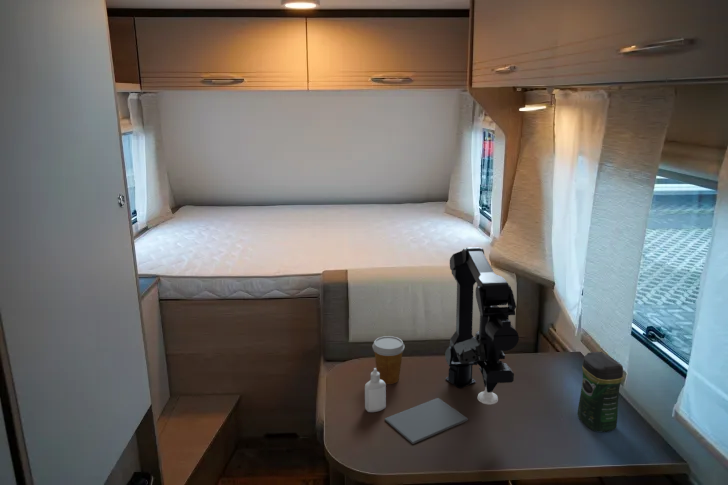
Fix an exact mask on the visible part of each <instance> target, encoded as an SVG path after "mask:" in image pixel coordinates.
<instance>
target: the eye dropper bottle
mask: <svg viewBox="0 0 728 485" xmlns="http://www.w3.org/2000/svg"><path fill="white" fill-rule="evenodd" d="M386 386H387V384H385V382H384V381H383V380H381V379H380V373H379V372H377V367H373V371H371V372H370V380H369V381H367V382H366V383H365V385H364V409H365V410H366V412H368V413H376V412H380V411H383V410H384V409H386V407H387V392H386V390H387V387H386Z"/></svg>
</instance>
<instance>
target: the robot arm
mask: <svg viewBox="0 0 728 485" xmlns="http://www.w3.org/2000/svg"><path fill="white" fill-rule="evenodd" d="M449 270H451V275H452V277H453V278H454V280H455V281H456V312H455V313H456V318H455V321H456V323H455V331H454V333H453V335H451V337H450V340H449V346H448V347H447V348H446V350H445V353H444V354H445V355H444V356H445V361H446V362H447V366H448V367H449V368H448V376H446V377H445V380H446V382H448V383H451V385H453V386H455V387H456V388H458V389H463V388H466V387H467V386H470V385H473V384H475V383H476V380H475V378H473V366H479V367H478V370H479V371H480V373H481V377H482V380H483V386H484V388H485V387H486V389H487V392H493V391H494V389H495V388H496V386H497V385H498V384H501V383H502V384H505V383H508V384H509V383H513V382H514V377H515V373H514V372H513V370H512V368H511V367H510V365H509V364H508V363H506V362H503V361H502V360H505V359H506V355H505V353H504V352H507V351H511V350H513V349H514V348H515V347H516V346H517V345H518V343H519V340H520V337H519V332H518V331H517V330H516V328H514V326H513V324H512V321H511V320H510V319H509V316H515V315H516V308H517V304H516V301H515V296H514V291H513V289H512V287H511V285H510V284H509V282H508V280H506V279H505V278H504V277H503V276H501V275H498V274H496V273H495V272H494V270H493V268H492V266H491V264H490V263H489V261H488V259H487V258H486V255H485V249H484V248H483V247H480V246H479V247H478V246H475V247H474V246H473V247H465V248H463V249H461V251H458V252H456V253H453V254H452V255H451V256H450V259H449ZM475 284H477V285H476V287H475V298H476V304H477V306H478V311H479V326H478V327H479V328H478V329H479V330H478V331H476V332H475V336H473V318H474V317H473V315H474V312H473V311H474V286H475ZM484 378H485V379H484Z"/></svg>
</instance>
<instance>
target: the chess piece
mask: <svg viewBox="0 0 728 485" xmlns="http://www.w3.org/2000/svg"><path fill="white" fill-rule="evenodd" d="M484 379H485V378H484ZM498 397H499V396H498V395H497V394H496V393H494V392H493V391H492V392H487V389H486V387H485V386H484V391H481V392H479V393H478V395H477V400H478V401H479V402H480V403H482V404H484V405H495V404H497V403H498V401H499V398H498Z"/></svg>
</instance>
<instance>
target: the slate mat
mask: <svg viewBox="0 0 728 485" xmlns="http://www.w3.org/2000/svg"><path fill="white" fill-rule="evenodd" d="M384 421H385V422H386V423H388V424H389V425H390V426H391V427H392V428H394V430H395V431H397V432H398V433H399V434H400V435H401V436H402V437H404V438H405V439H406V440H407V441H408V442H409V443H411V444H412V445H414V444H418V443H419V442H422V441H424V440H425V439H427V438H430V437H432V436H435V435H437V434H441V433H442V432H444V431H447V430H449V429H451V428H454V427H456V426H458V425H460V424H463V423H465V422H467V421H468V417H467V416H465V415H463V414H462V413H460V412H459V411H458V410H457V409H455V408H454V407H452V406H451V405H449V404H448V403H447V402H444V401H443V399H441V398H439V397H436V398H434V399H430V400H428V401H426V402H423V403H421V404H418V405H415V406H413V407H411V408H409V409H408V408H407V409H405V410H403V411H401V412H397V413H395V414H392V415H390V416H388V417H385V418H384Z"/></svg>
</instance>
